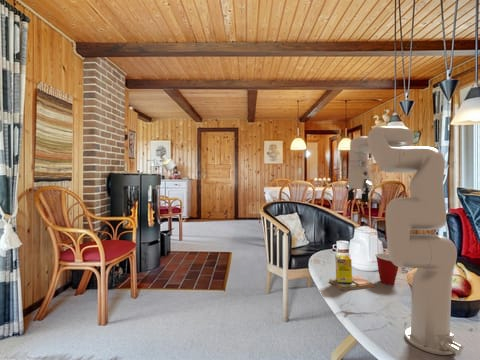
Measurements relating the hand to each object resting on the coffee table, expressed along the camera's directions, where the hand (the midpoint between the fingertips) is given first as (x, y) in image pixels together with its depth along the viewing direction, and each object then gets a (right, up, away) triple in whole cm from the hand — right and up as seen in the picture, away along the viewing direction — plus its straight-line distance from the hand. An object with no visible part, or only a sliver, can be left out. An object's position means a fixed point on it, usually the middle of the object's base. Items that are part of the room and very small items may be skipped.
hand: (357, 201), depth 134 cm
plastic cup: (+12, -37, -5) cm, 39 cm away
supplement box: (-10, -35, -9) cm, 37 cm away
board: (-6, -37, -8) cm, 38 cm away
